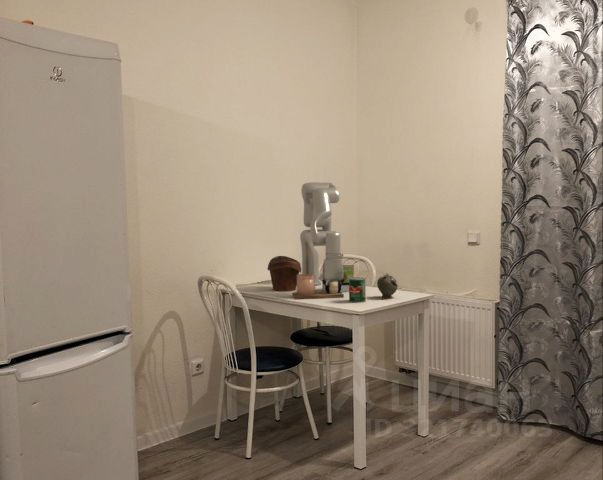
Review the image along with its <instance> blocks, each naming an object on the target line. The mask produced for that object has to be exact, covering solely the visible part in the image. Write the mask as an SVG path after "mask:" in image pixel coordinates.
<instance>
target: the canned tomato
mask: <svg viewBox="0 0 603 480" xmlns="http://www.w3.org/2000/svg"><path fill="white" fill-rule="evenodd" d="M348 298H349V299H348V300H349V302H350V303H355V304H356V303H358V304H359V303H366V278H365V277H357V276H354V277H353V278H349V292H348Z"/></svg>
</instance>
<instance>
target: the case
mask: <svg viewBox="0 0 603 480" xmlns="http://www.w3.org/2000/svg"><path fill="white" fill-rule="evenodd" d="M267 271H269V274H270V280H271V284H272V285H271V286H272V291H277V292H292V291H295V290H297V275H299V274H302V264H301V262H300V261H298V260H296V259H294V258H292V257H289V256H286V255H277V256H274V257H272V258H271V259H270V261H269V262H268V265H267Z"/></svg>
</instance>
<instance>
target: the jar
mask: <svg viewBox="0 0 603 480" xmlns="http://www.w3.org/2000/svg"><path fill="white" fill-rule="evenodd" d="M296 292H297V295H314V294H315V292H316V285H315V275H313V274H302V273H299V275H297V287H296Z"/></svg>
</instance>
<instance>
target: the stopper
mask: <svg viewBox="0 0 603 480" xmlns="http://www.w3.org/2000/svg"><path fill="white" fill-rule="evenodd" d="M328 285H329V294H337V293H338V281H336V279H331V281H329V282H328Z"/></svg>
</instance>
